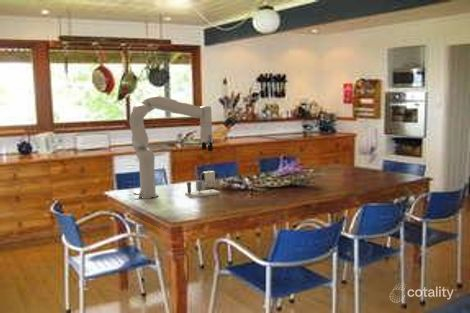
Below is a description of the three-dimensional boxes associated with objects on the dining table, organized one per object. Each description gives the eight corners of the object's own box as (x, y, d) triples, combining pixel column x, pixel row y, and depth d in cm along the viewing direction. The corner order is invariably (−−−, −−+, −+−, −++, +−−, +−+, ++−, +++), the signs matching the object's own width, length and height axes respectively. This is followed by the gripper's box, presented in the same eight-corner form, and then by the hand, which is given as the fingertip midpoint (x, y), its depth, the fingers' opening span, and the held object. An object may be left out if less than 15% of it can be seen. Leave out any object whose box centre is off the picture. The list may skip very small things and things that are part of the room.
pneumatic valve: (218, 186, 350) (217, 169, 348) (202, 188, 345) (201, 171, 343) (215, 185, 355) (214, 168, 353) (199, 187, 350) (198, 170, 349)
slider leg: (198, 192, 321) (197, 181, 320) (196, 192, 324) (196, 181, 323) (202, 192, 322) (202, 181, 321) (200, 191, 325) (200, 180, 324)
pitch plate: (190, 197, 315) (189, 183, 314) (184, 195, 324) (184, 180, 323) (219, 194, 324) (219, 179, 323) (213, 191, 333) (212, 177, 332)
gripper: (195, 124, 337) (196, 149, 339) (206, 125, 322) (207, 151, 324) (206, 123, 340) (207, 148, 342) (216, 124, 325) (217, 150, 327)
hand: (207, 150), depth 333 cm, fingers open, 9 cm apart
